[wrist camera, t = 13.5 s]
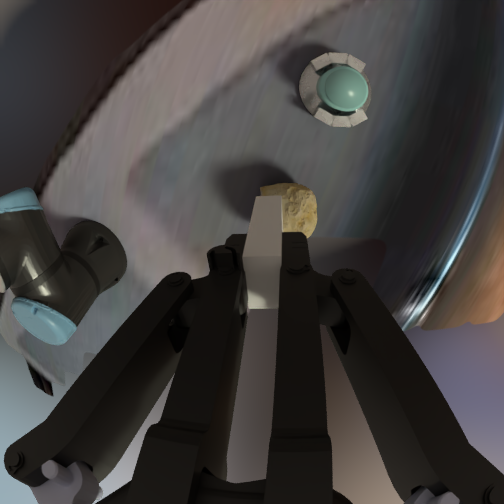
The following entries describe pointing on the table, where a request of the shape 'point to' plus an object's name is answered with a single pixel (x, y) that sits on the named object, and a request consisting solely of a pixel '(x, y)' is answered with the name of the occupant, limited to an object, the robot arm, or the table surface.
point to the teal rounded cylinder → (342, 88)
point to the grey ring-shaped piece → (313, 101)
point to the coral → (295, 206)
